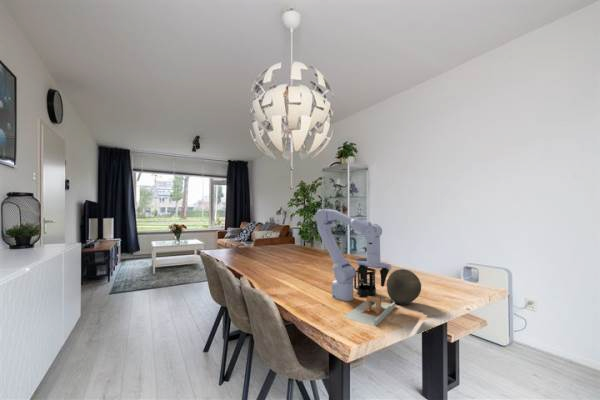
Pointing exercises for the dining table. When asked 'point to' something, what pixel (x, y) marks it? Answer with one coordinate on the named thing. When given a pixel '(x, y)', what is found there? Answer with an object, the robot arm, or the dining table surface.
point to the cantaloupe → (403, 286)
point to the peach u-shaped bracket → (376, 300)
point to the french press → (370, 285)
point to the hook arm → (373, 302)
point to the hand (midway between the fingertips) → (373, 284)
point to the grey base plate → (367, 318)
